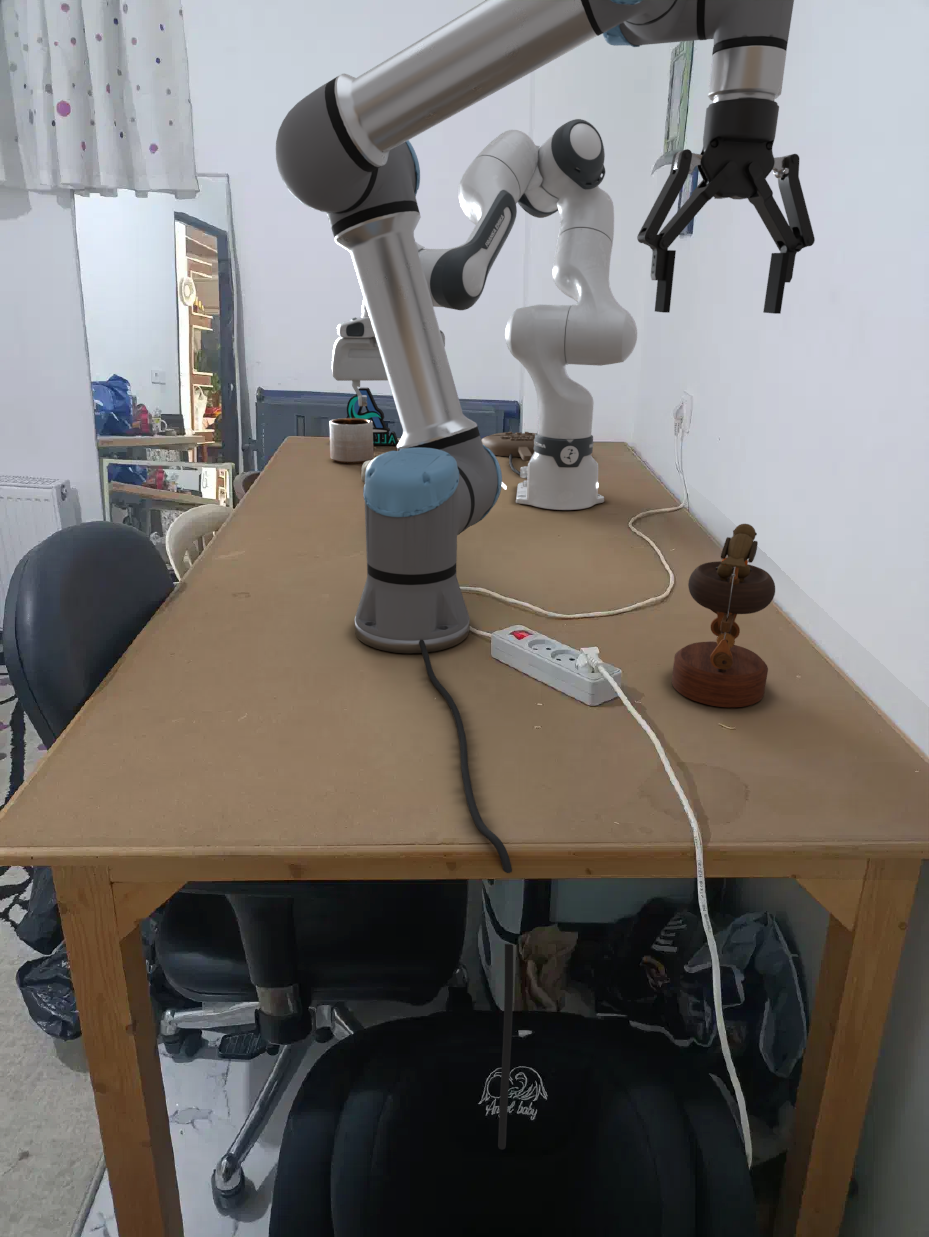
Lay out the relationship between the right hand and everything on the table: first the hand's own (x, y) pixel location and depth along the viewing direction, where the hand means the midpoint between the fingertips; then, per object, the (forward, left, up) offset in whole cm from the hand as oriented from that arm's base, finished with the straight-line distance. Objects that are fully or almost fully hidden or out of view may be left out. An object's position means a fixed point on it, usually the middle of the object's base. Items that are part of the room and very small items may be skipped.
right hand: (388, 405), depth 155 cm
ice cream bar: (-60, +36, -22) cm, 74 cm away
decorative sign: (-77, -5, -22) cm, 80 cm away
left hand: (+58, +37, +19) cm, 72 cm away
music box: (+74, +36, -22) cm, 85 cm away
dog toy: (-30, +4, -22) cm, 38 cm away
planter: (-56, -8, -22) cm, 61 cm away
